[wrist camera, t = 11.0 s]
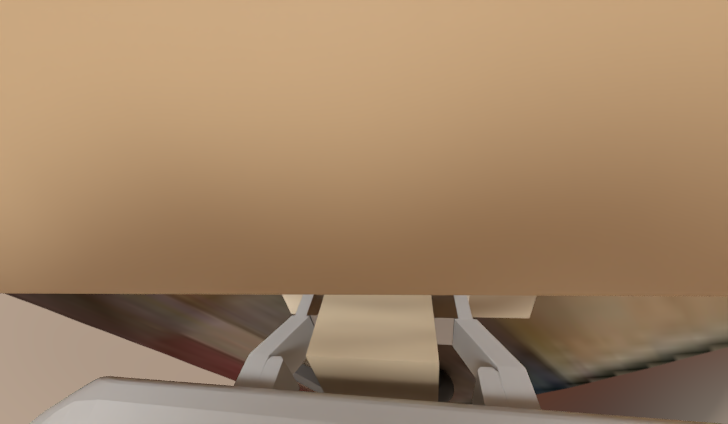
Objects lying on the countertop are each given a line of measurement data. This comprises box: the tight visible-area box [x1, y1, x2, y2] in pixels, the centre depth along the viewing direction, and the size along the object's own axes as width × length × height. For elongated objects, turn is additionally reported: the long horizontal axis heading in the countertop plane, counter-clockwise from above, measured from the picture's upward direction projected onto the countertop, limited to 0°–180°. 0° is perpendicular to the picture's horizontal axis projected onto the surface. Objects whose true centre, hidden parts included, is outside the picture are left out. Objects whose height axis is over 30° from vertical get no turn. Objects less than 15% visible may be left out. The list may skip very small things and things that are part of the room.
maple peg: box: [306, 295, 439, 402], centre depth 12 cm, size 4×4×8 cm
